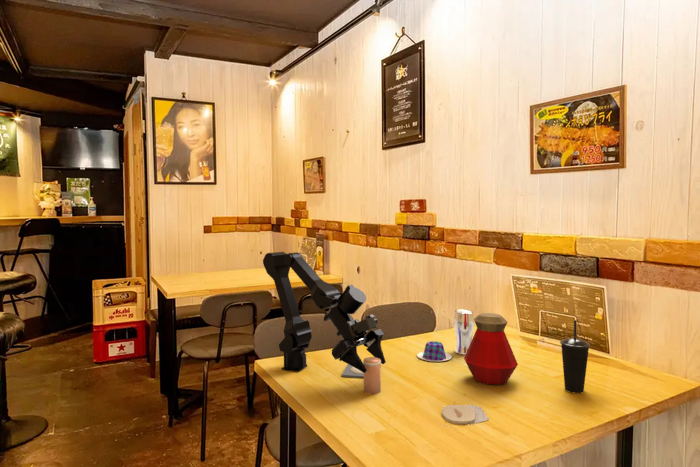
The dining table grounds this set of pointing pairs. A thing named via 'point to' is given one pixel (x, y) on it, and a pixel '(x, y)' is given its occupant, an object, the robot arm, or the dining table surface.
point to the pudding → (434, 352)
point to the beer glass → (463, 330)
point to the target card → (352, 372)
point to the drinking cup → (574, 362)
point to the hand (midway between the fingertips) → (375, 367)
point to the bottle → (490, 351)
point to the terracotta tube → (372, 375)
